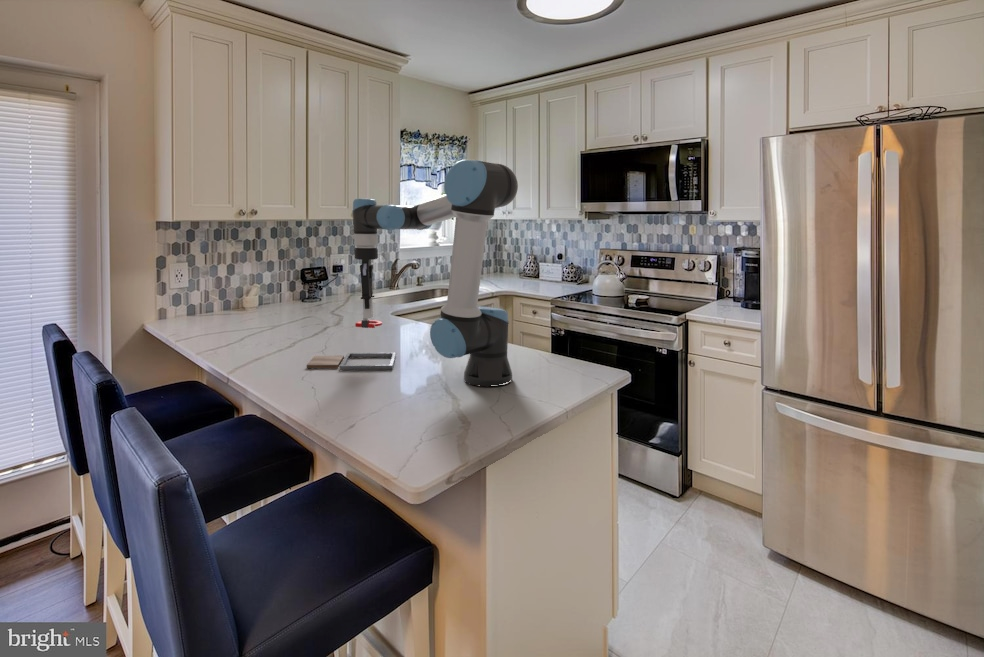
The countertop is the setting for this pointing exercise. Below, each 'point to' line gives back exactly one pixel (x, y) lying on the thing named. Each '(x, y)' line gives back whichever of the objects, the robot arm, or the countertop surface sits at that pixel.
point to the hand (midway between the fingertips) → (368, 317)
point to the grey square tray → (368, 367)
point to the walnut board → (325, 362)
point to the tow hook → (365, 323)
